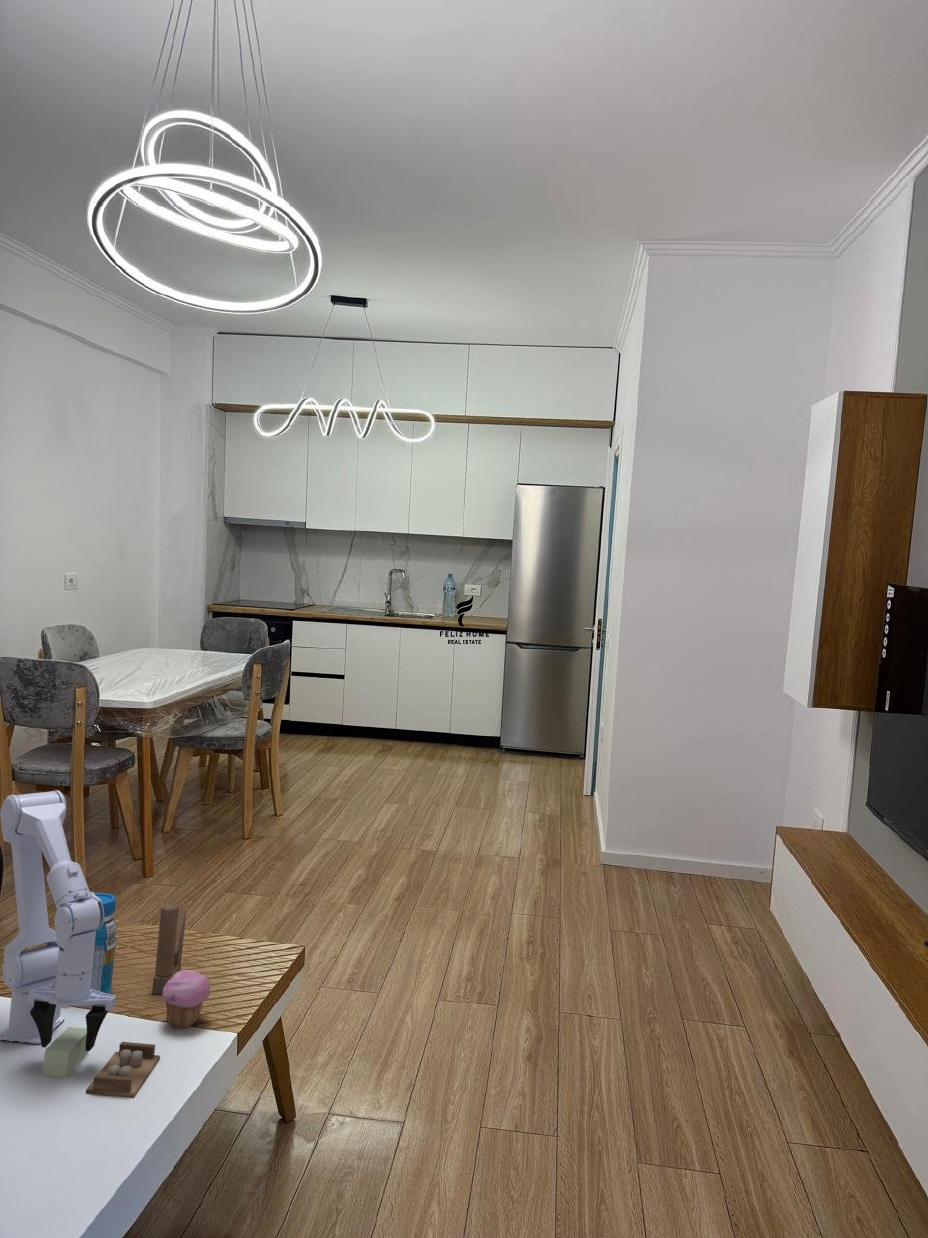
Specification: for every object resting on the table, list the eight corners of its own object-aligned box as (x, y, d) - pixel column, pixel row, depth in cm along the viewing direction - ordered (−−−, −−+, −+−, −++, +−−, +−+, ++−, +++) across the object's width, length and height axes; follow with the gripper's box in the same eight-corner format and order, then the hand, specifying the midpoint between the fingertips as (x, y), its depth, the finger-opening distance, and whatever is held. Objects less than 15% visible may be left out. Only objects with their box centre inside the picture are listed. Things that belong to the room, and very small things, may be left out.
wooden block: (180, 973, 184) (187, 892, 184) (169, 995, 174) (177, 909, 174) (163, 972, 184) (170, 891, 184) (151, 995, 173) (159, 909, 173)
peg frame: (115, 1055, 150) (116, 1040, 150) (159, 1059, 150) (161, 1044, 150) (85, 1093, 138) (87, 1077, 138) (133, 1097, 138) (135, 1082, 138)
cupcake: (174, 1009, 168) (179, 960, 168) (214, 1017, 166) (219, 967, 166) (151, 1030, 159) (155, 978, 159) (192, 1038, 158) (197, 986, 158)
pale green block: (66, 1051, 150) (68, 1026, 150) (88, 1054, 150) (90, 1029, 150) (42, 1076, 142) (45, 1050, 142) (65, 1078, 142) (68, 1052, 142)
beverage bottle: (73, 1008, 165) (82, 908, 165) (61, 991, 171) (70, 894, 171) (117, 999, 170) (126, 901, 170) (104, 982, 177) (113, 889, 177)
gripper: (21, 975, 142) (14, 1055, 142) (106, 982, 142) (99, 1062, 142) (42, 958, 149) (35, 1034, 149) (123, 965, 149) (116, 1041, 149)
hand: (68, 1046), depth 146 cm, fingers open, 7 cm apart
